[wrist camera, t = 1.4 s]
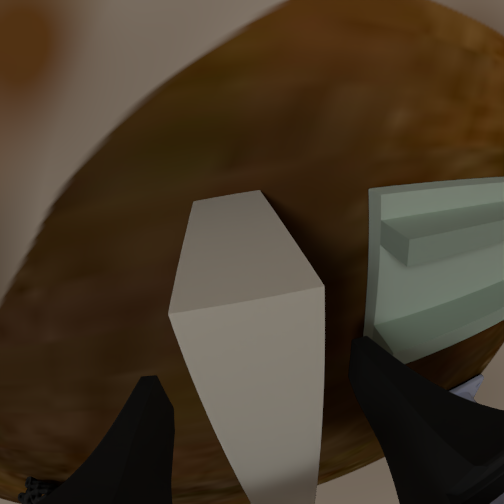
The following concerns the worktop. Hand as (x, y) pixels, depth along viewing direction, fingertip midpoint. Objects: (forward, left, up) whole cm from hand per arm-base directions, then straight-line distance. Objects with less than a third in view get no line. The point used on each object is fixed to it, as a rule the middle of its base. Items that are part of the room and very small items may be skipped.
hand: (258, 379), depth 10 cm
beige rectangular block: (0, 0, -3) cm, 3 cm away
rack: (+1, -11, -3) cm, 12 cm away
